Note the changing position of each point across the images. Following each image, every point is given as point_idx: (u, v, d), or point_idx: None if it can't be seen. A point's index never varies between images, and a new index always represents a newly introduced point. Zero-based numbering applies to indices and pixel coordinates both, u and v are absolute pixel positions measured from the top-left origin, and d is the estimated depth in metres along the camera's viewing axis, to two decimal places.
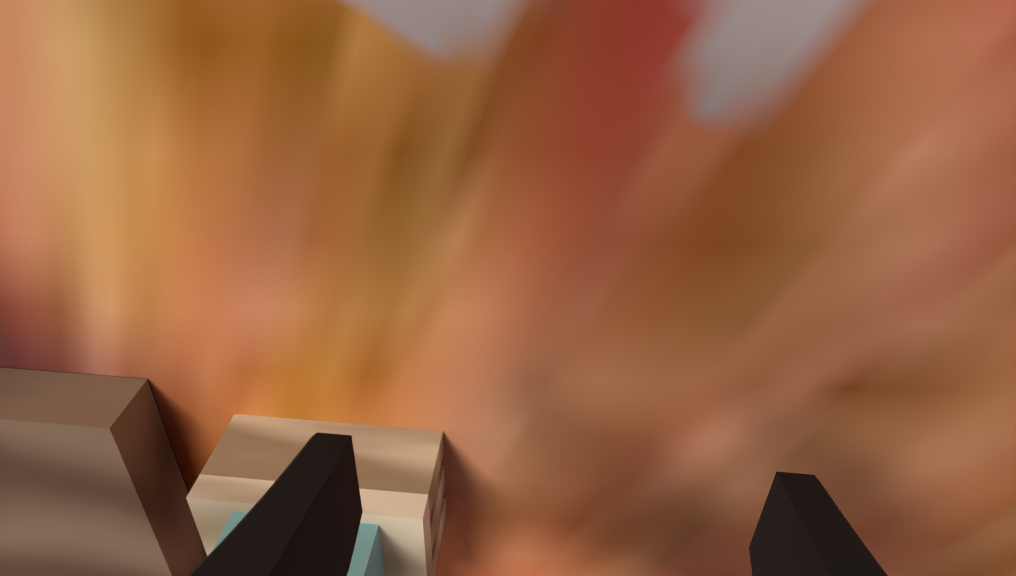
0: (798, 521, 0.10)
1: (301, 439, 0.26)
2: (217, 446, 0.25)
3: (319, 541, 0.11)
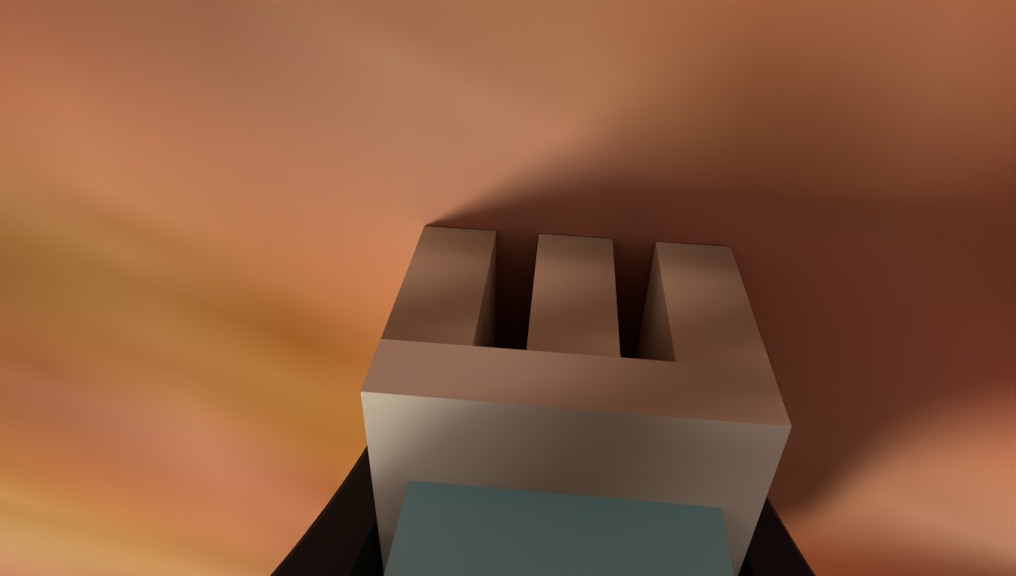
0: None
1: None
2: None
3: None
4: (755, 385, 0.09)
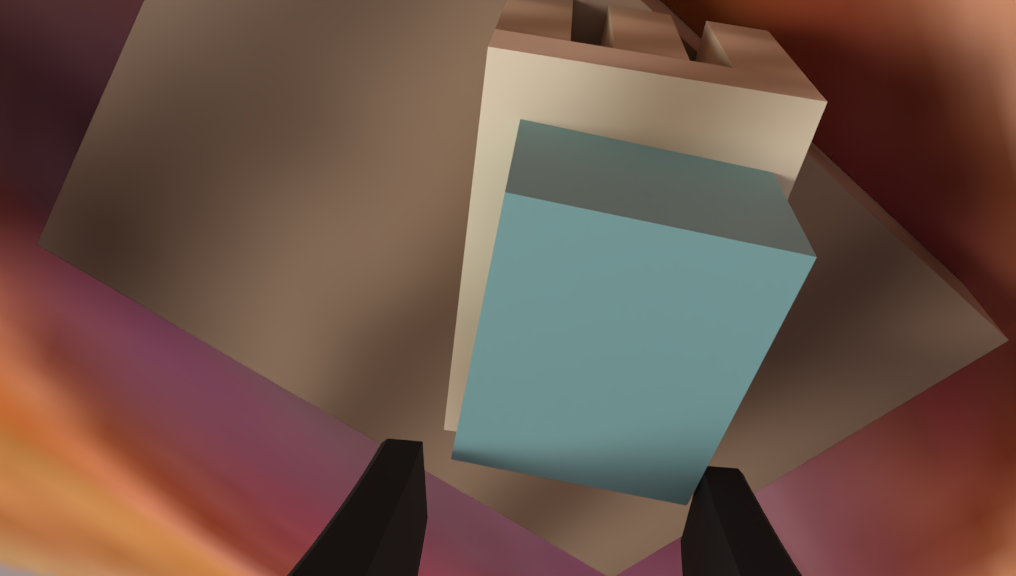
0: (715, 513, 0.10)
1: None
2: None
3: (398, 548, 0.10)
4: (797, 84, 0.11)
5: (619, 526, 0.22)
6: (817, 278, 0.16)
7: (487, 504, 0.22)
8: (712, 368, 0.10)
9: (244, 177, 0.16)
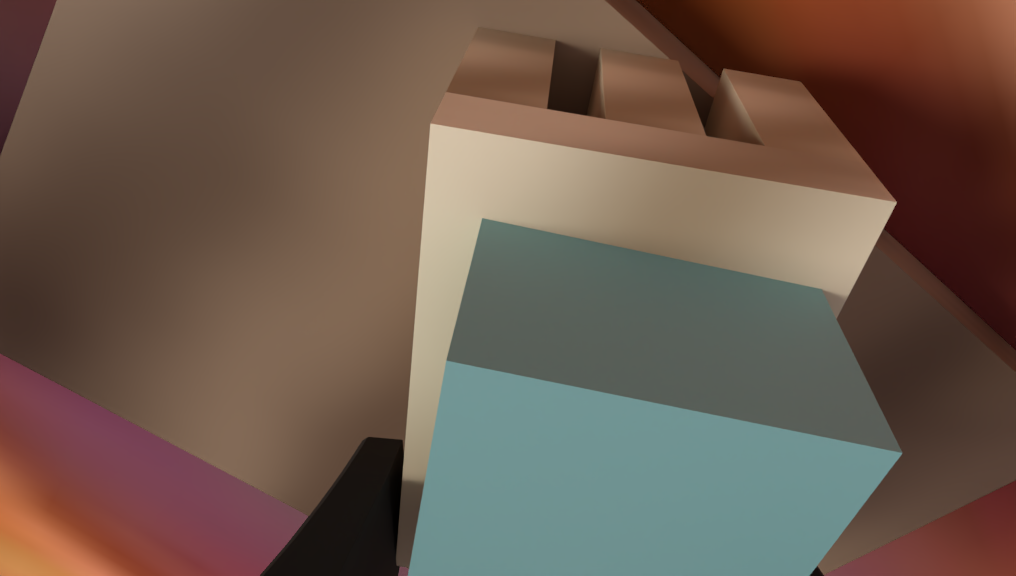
0: None
1: None
2: None
3: (376, 546, 0.10)
4: (851, 171, 0.08)
5: None
6: (866, 371, 0.14)
7: None
8: (743, 575, 0.07)
9: (177, 249, 0.14)
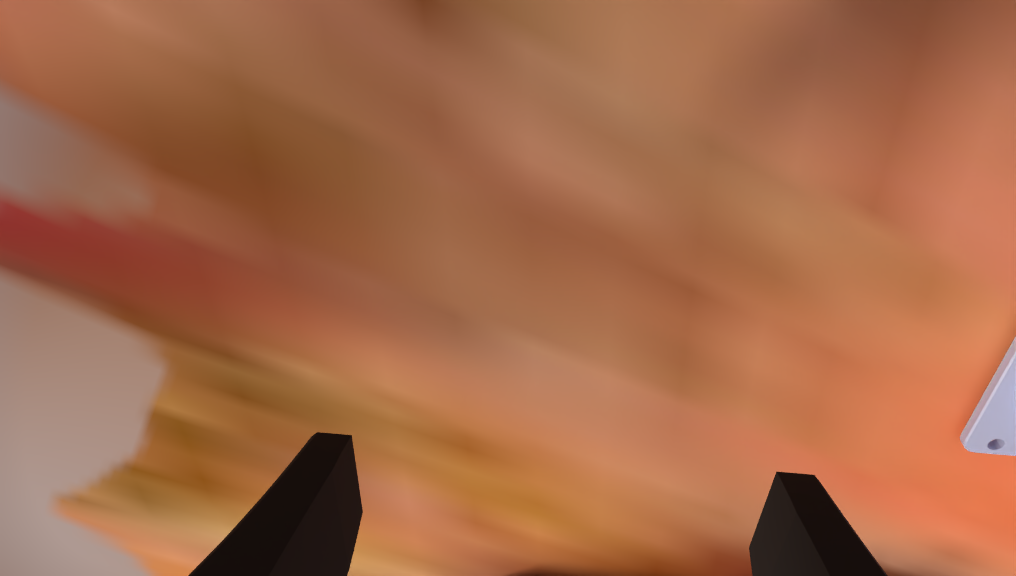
0: (798, 521, 0.10)
1: None
2: None
3: (319, 541, 0.11)
4: None
5: None
6: None
7: None
8: None
9: None
